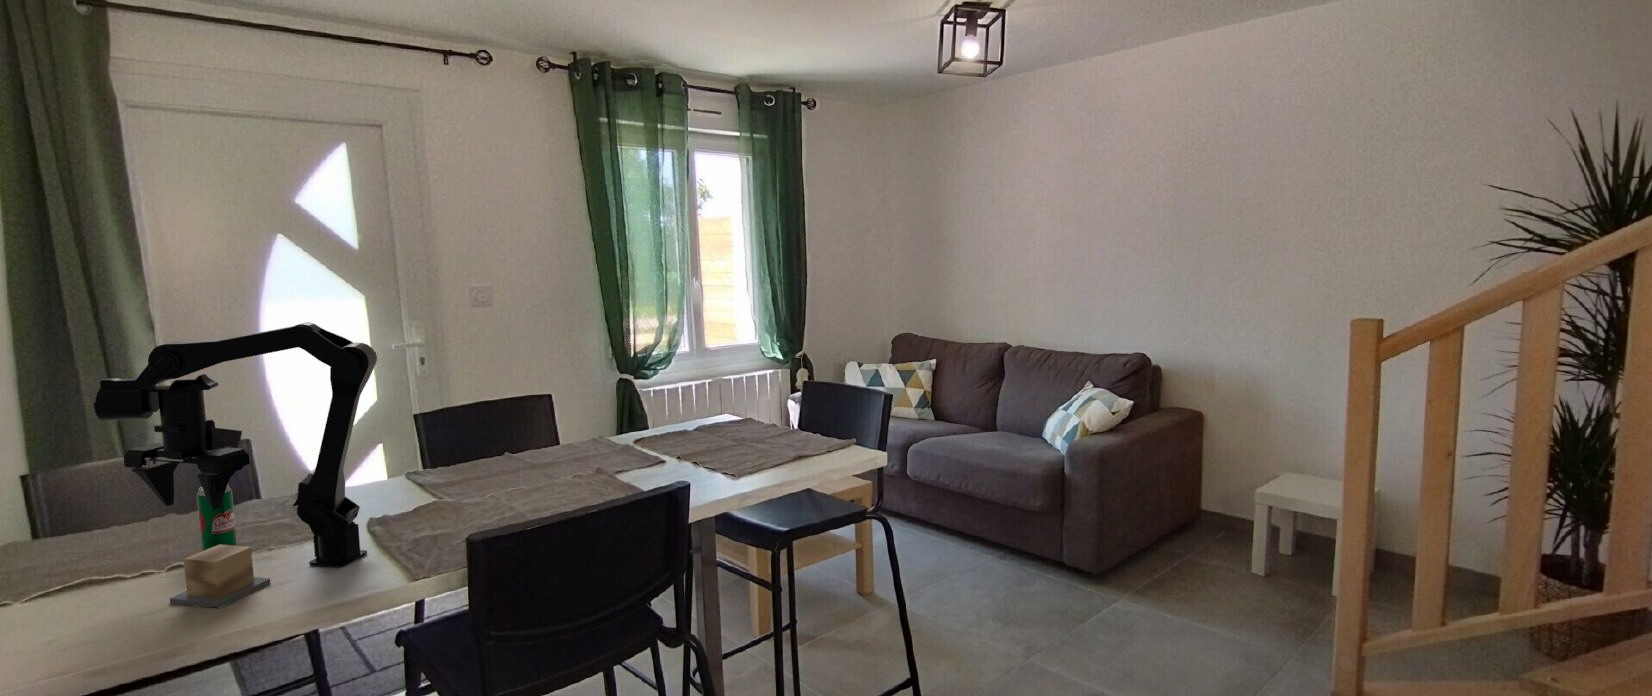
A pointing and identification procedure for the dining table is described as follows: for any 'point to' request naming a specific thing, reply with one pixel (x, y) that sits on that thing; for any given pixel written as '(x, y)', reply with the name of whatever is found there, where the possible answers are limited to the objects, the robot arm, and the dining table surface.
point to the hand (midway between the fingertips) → (192, 507)
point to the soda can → (216, 521)
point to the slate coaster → (222, 601)
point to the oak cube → (218, 571)
